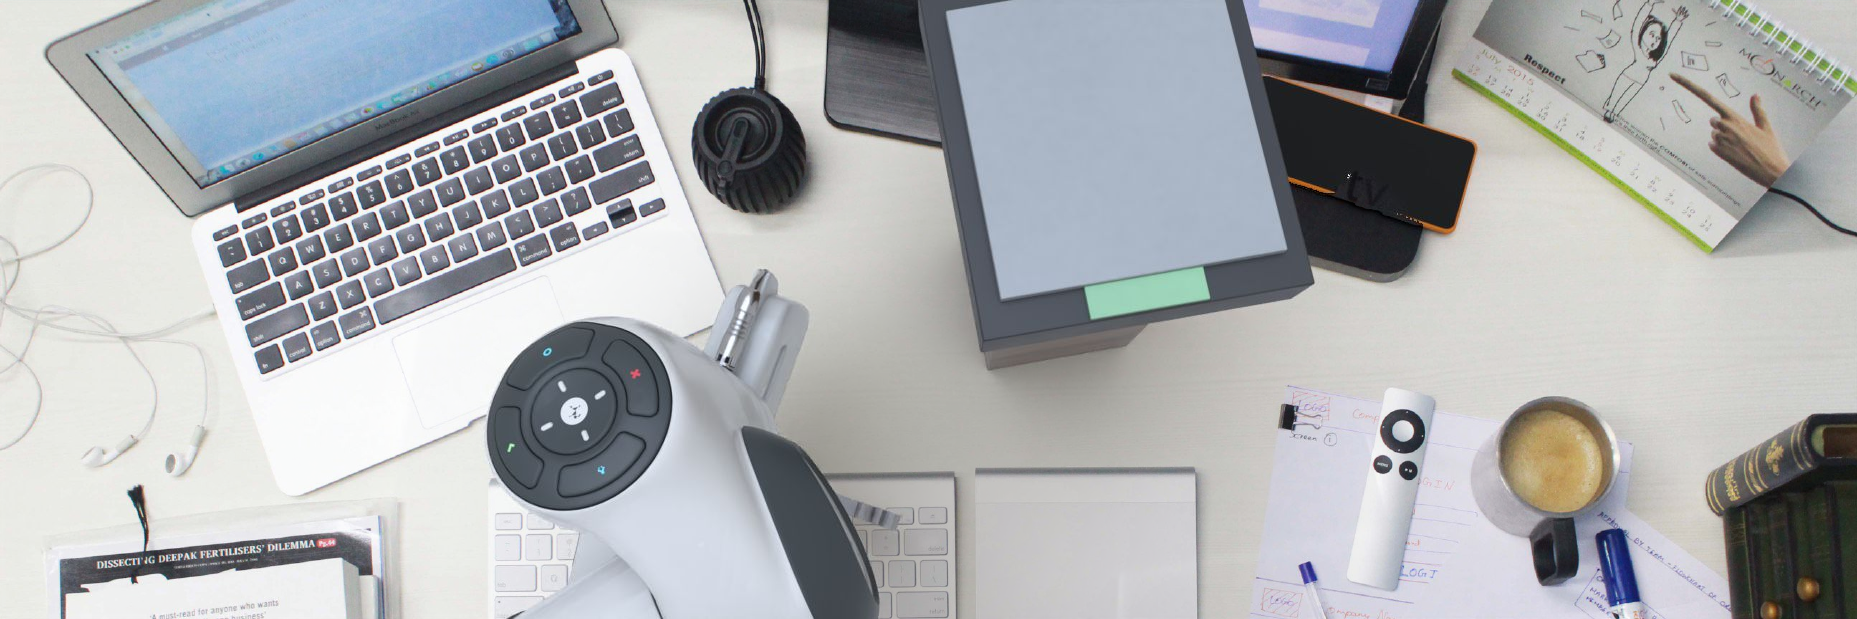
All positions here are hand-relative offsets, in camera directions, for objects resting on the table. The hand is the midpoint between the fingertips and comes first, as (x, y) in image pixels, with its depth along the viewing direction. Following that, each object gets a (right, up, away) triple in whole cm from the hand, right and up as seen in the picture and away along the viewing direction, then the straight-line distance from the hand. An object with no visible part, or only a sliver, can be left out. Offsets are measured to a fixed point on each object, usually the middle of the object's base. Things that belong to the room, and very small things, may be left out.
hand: (743, 470), depth 66 cm
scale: (+19, +17, -18) cm, 32 cm away
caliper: (0, -1, +3) cm, 3 cm away
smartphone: (+42, +21, +11) cm, 49 cm away
